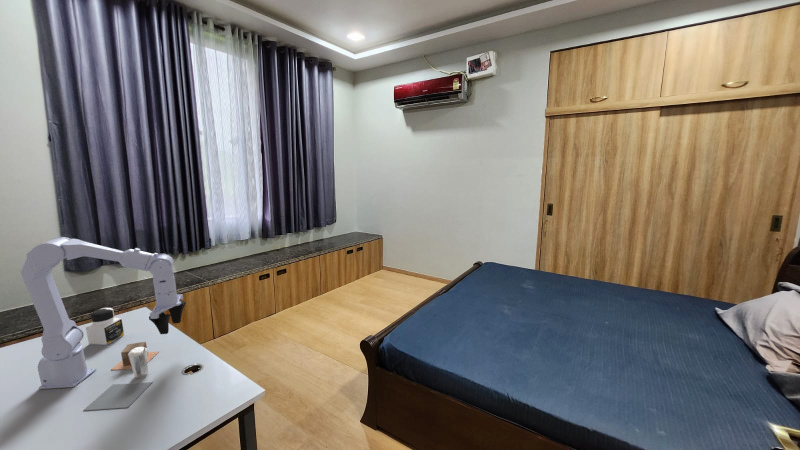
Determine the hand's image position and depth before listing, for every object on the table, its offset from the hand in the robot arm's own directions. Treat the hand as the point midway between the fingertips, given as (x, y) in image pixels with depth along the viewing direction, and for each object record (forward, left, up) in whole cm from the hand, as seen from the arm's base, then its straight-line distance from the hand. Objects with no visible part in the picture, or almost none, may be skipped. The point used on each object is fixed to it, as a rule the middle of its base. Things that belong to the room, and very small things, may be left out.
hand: (170, 328), depth 106 cm
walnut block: (-11, -2, -10) cm, 15 cm away
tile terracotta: (-11, -2, -10) cm, 15 cm away
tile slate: (-4, -19, -10) cm, 22 cm away
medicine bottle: (-31, +13, -11) cm, 35 cm away
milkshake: (-4, -10, -11) cm, 15 cm away
